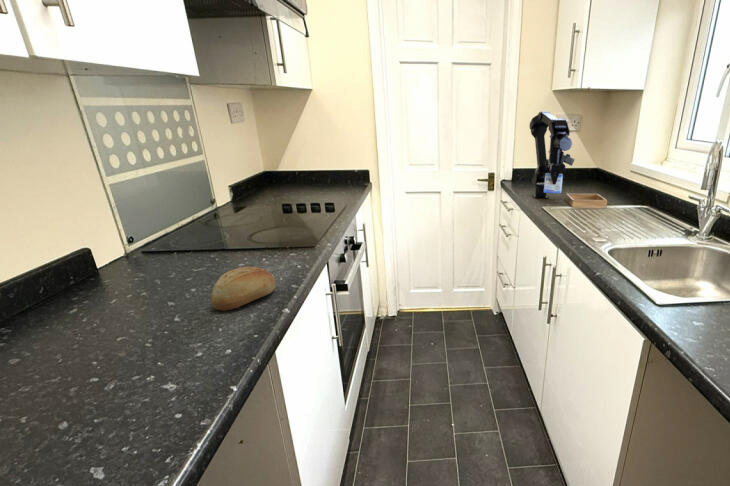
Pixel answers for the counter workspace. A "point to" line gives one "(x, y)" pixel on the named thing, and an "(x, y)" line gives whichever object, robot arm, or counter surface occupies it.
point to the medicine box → (549, 184)
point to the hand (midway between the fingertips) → (553, 183)
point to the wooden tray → (586, 200)
